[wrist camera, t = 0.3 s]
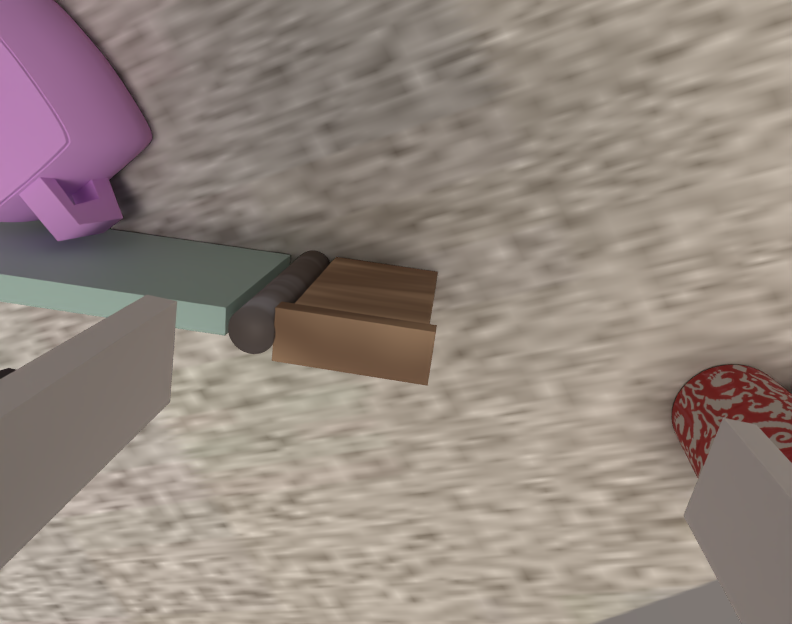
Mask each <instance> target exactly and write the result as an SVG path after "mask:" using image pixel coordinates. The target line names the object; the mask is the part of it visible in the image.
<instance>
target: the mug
mask: <svg viewBox="0 0 792 624" xmlns="http://www.w3.org/2000/svg"><path fill="white" fill-rule="evenodd" d="M723 418H727V419H732V420H737V421H741V422H746V423H751V424H755V425H757V426H758V427H759V428H760V429H761V430H762V431H763V432H764V434H765V435H766V436H767V437H768V438H769V439H770V440H771V441H772V442H773V443H774V444H775V446H776V447H777V448H778V449H779V450H780V451H781V452H782V453H783V454H784V455H785V456H786V457H787V459H788V460H789V461H790V462H791V463H792V394H791V393H790V392H788V391H787V390H786V389H785V388H783V387H782V386H781V385H780V384H779V383H777V382H776V381H775V380H774V379H772V378H771V377H770V376H768V375H766V374H765V373H763V372H762V371H760V370H757V369H755V368H752V367H748V366H744V365H723V366H717V367H714V368H710V369H708V370H705V371H703V372H701V373H700V374H698V375H696V376H695V377H693V378H692V379H691V380H690V381H689V382H687V383H686V384H685V386H684V387H683V388H682V389H681V391H680V392H679V393H678V395H677V397H676V400H675V402H674V405H673V410H672V424H673V427H674V431H675V433H676V435H677V438H678V440H679V442H680V444H681V446H682V448H683V450H684V451H685V453H686V455H687V457H688V459H689V461H690V463H691V466H692V468H693V470H694V472H695V474H696V476H697V478H699V476H700V474H701V471H702V469H703V466H704V464H705V461H706V459H707V456H708V454H709V451H710V449H711V446H712V444H713V441H714V439H715V437H716V434H717V432H718V429H719V427H720V424H721V422H722V419H723Z"/></svg>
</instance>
